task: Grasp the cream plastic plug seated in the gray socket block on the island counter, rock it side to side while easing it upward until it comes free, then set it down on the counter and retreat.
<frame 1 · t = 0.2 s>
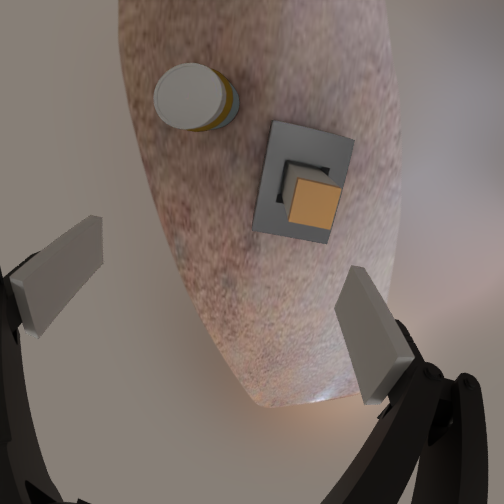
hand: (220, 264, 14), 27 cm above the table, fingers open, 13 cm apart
gray socket block: (297, 176, 39), on the table
plug: (298, 177, 38), point 1 cm above the table, touching gray socket block
bottle: (214, 104, 35), on the table
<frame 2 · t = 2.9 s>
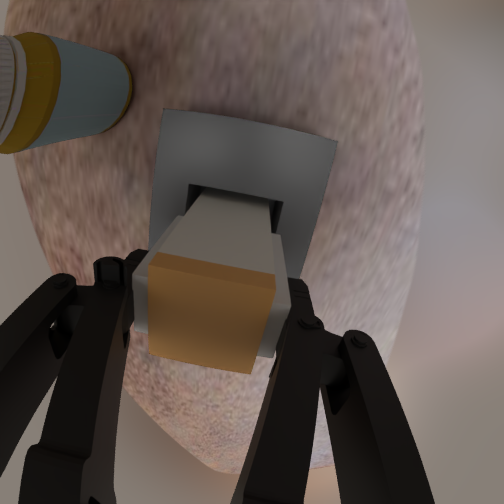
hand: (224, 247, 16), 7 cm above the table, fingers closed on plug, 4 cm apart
gray socket block: (235, 209, 23), on the table
plug: (234, 213, 22), point 1 cm above the table, touching gripper, gray socket block
bottle: (99, 94, 19), on the table
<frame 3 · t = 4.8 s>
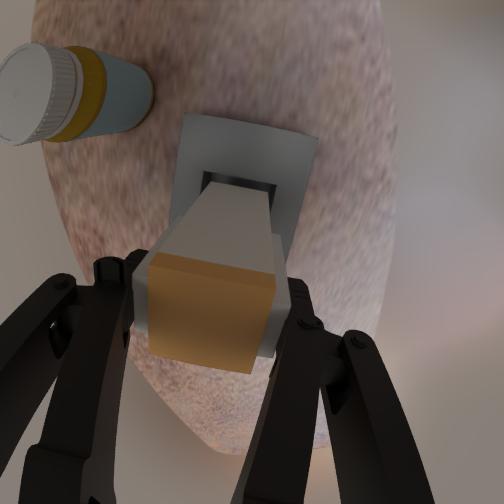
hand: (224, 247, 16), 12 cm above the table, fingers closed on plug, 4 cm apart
gray socket block: (238, 195, 27), on the table
plug: (234, 213, 22), point 6 cm above the table, touching gripper
bottle: (124, 98, 24), on the table
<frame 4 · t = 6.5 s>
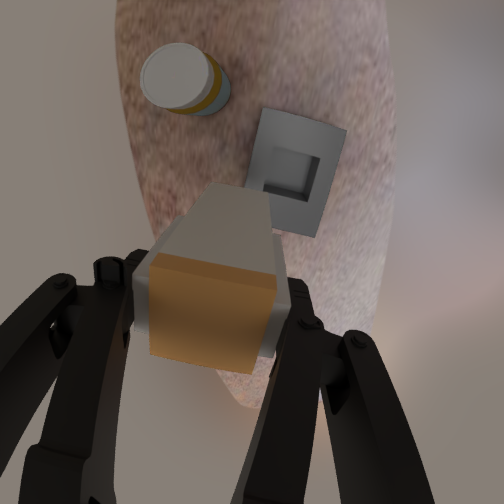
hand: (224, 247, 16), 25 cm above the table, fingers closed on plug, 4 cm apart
gray socket block: (287, 167, 38), on the table
plug: (234, 213, 22), point 18 cm above the table, touching gripper
bottle: (205, 91, 34), on the table
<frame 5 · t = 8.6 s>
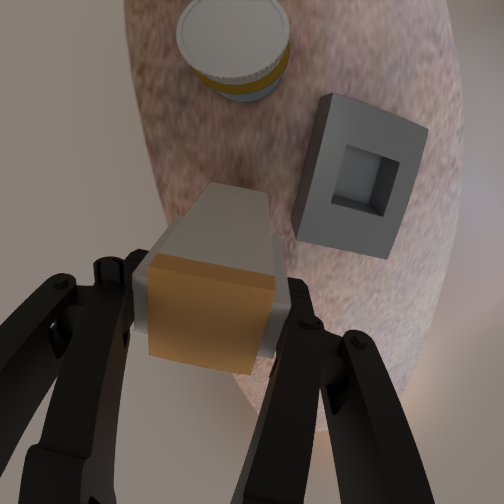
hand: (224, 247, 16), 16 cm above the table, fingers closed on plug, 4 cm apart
gray socket block: (349, 171, 30), on the table
plug: (233, 213, 22), point 10 cm above the table, touching gripper
bottle: (245, 71, 26), on the table
when the fingers open (8 cm above the table, at t = 10.4 s): plug drops 1 cm, on the table.
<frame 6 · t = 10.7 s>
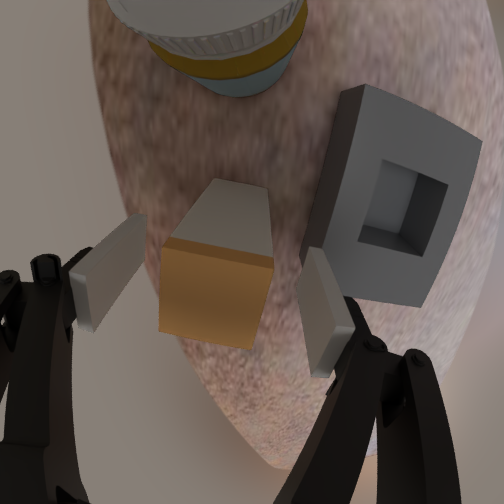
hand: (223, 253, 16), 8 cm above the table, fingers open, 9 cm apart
gray socket block: (377, 191, 22), on the table
plug: (235, 208, 23), on the table
bottle: (239, 56, 18), on the table
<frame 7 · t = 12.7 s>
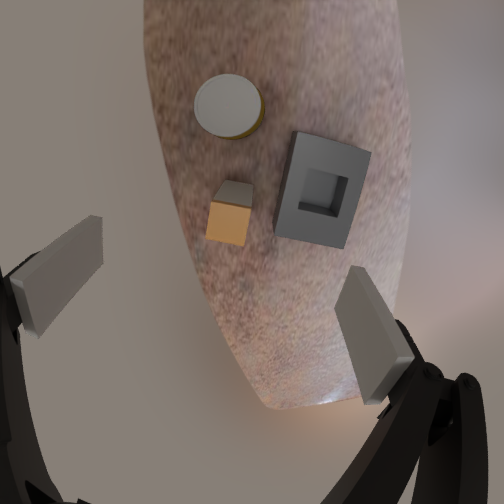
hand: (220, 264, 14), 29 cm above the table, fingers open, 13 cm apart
gray socket block: (315, 185, 41), on the table
plug: (236, 195, 42), on the table
bottle: (238, 113, 38), on the table
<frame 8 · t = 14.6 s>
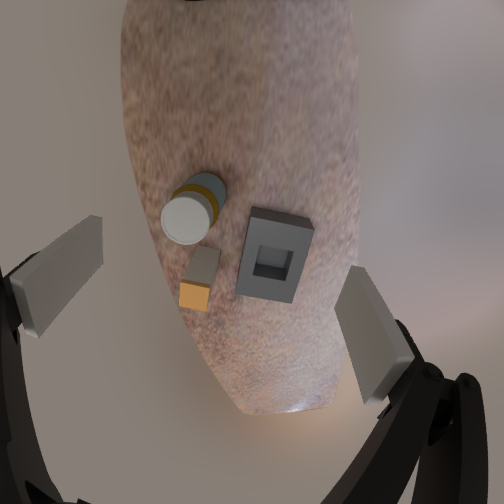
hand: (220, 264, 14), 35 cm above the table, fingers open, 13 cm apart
gray socket block: (271, 249, 52), on the table
plug: (207, 257, 53), on the table
bottle: (206, 191, 48), on the table
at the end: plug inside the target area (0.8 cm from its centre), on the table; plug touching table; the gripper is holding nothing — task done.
